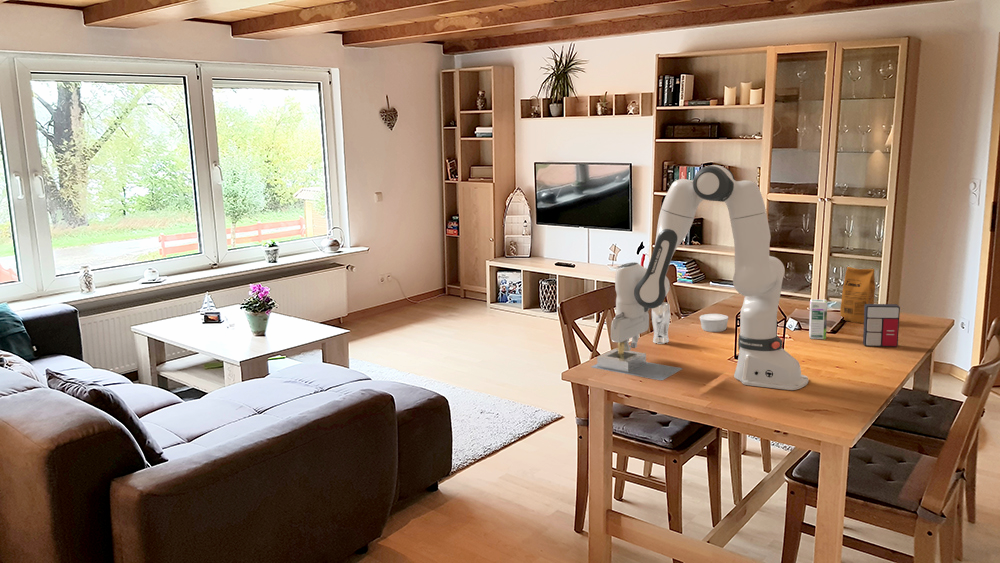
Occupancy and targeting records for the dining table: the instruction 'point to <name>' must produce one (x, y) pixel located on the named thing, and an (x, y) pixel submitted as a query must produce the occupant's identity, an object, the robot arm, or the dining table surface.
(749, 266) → the robot arm
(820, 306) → the syrup box
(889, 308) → the calculator
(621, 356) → the brass peg
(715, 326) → the ramekin
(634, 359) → the grey recessed tray
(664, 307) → the beer glass
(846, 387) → the dining table surface
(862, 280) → the coffee package
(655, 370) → the keeper board
